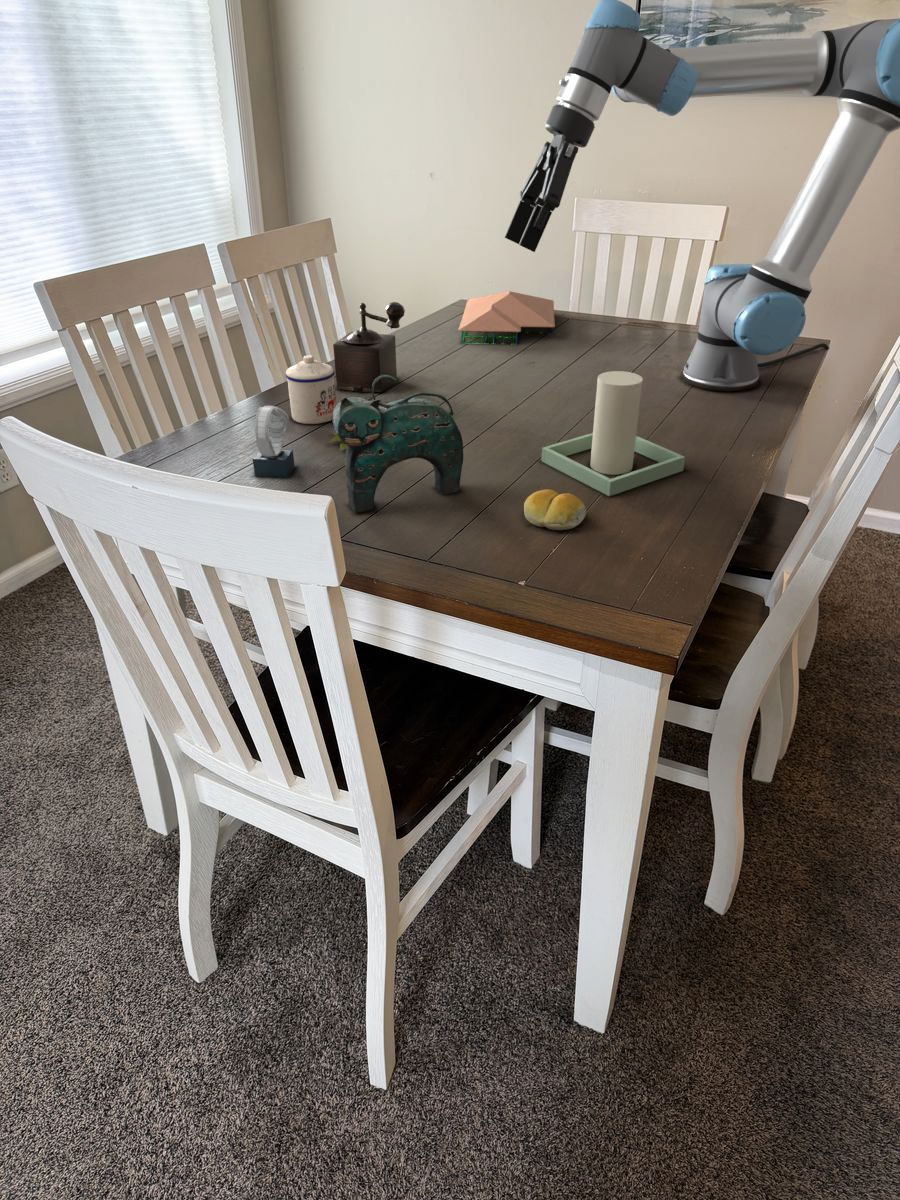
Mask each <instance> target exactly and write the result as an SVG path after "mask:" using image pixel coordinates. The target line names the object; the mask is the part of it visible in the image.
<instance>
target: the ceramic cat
mask: <svg viewBox="0 0 900 1200" xmlns="http://www.w3.org/2000/svg"><path fill="white" fill-rule="evenodd" d="M381 378H390V379H392V380H393V381H394V383H395V384H397V383H398V380H397V378H396V379H395V378H393V377H392V376H389V375H382V376H379V377H378V378H376V379H375V380H374V382H373V385H372V392H371V397H372V399H373V400H371V401H370V400H368V399H365V398H362V397H359V396H358V397H357V396H349V397H346V396H345V397H344V398H343V399H342V400H341V401H340V402H338V403H336V407H335V409H334V412H333V420H332V427H333V429H334V432H336V433H337V435H338V437H339V438H340V440H339V441H341V443H342V442H343V443H345V444H346V445H347V446H346V449H345V467H344V470H345V477H346V492H347V499H348V504H349V506H350V508H351V510H353V512H354V513H355V514H362V513H366V512H371V511H373V510H374V507H375V505H374V503H375V496H376V492H377V487H378V485H379V484H380V481H381V479H382V478H383V476H384V474H385V473H386V471H387V470H388V469H389V468H390V467H392V466H394V465H397V464H399V463H401V462H403V461H406V460H411V459H423V460H425V461H427V462H429V464H431V465H432V466H433V472H434V487H435V488H436V490H437V491H438V492H439V493H440V494H442V495H451V494H454V493H458V492H459V491H460V485H461V476H462V471H463V469H462V468H463V464H464V457H465V456H464V441H463V437H462V433H461V431H460V429H459V426H458V425H457V422H456V420H455V419H454V417H453V416H454V410H453V407H452V405H451V404H452V403H450V401H449V400H448V399H447V398H446V396H443V394H440V393H437V392H427V391H426V392H418V393H414V394H411V395H408V396H407V397H405V398H403V399H398V400H394V401H391V402H387V403H386V404H385V403H381V399H377V398H376V396H375V392H374V385H375V383H376V382H377V381H378V380H379V379H381ZM422 396H424V397H425V396H426V397H437V398H439V399H440V400H442V401H443V402H444V403H446V404H447V406H448V408H449V411H448V410H446V409H445V408H444V407H442V406H441V405H439V404H438V403H436V402H435V401H432V400H429V399H425V398H417V397H422Z"/></svg>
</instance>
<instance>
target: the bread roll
mask: <svg viewBox="0 0 900 1200" xmlns="http://www.w3.org/2000/svg"><path fill="white" fill-rule="evenodd" d="M523 512H524V513H523V514H524V517H525V519H526V520H527V522H529V523H530V524H532V525H534V526H536V527H539V528H544V527H545V528H546V529H548V530H552V531H565V530H571V529H574V528H576V527H577V526H579V525H580V524H581V523H582V522H583V521H584V519H585V517H586V516H587V515H586V514H587V508H586V506H585V504H584V502H583V501H582V499H580V498H579V497H577V496H576V495H575V494H572V493H561V494H560V493H558V492H557V491H555V490H553V489H541V490H537V491H535V492H533V493H531V494H530V495H529V496H527V498H526V499H525V501H524V504H523Z"/></svg>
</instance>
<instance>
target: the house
mask: <svg viewBox="0 0 900 1200" xmlns="http://www.w3.org/2000/svg"><path fill="white" fill-rule="evenodd" d="M522 328H523V329H524V330H526V329H525V328H537V329H536V330H539V329H538V328H549V332H548V334H551V328H555V301H554V299H553V300H552V299H548V298H544V297H539V296H534V295H530V294H526V293H525V294H524V293H519V292H517V291H516V292H514V291H509V290H508V291H503V292H499V293H493V294H489V295H484V296H479V297H474V298H469V299H467V301H466V305H465V308H464V310H463V314H462V317H461V320H460V324H459V327H458V330H457V332H461V344H469V345H470V344H473V345H475V344H476V345H488V343H487V339H488V338H492V345H495V343H494V342H495V338H498V335H496V333H503V336H500V339H501V338H503V341H502V342H503V343H502V345H505V343H504V341H505V338H506V339H511V338H512V339H515V342H513V343H512V345H517V343H518V334H519V333H521V331H522ZM528 331H529V330H528V329H527V332H526V334H529V332H528ZM467 332H471V339H472V342H471V343H470V342H464V340H465V338H470V335H466V334H467ZM474 332H476V335H474ZM479 332H482V333H484V335H479ZM488 333H492V335H488ZM506 333H510V336H505V335H506ZM512 333H513V334H515V336H512ZM539 334H542V332H541V330H540V331H539ZM474 338H484V340H482V342H473V341H474ZM483 341H484V342H483Z"/></svg>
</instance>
